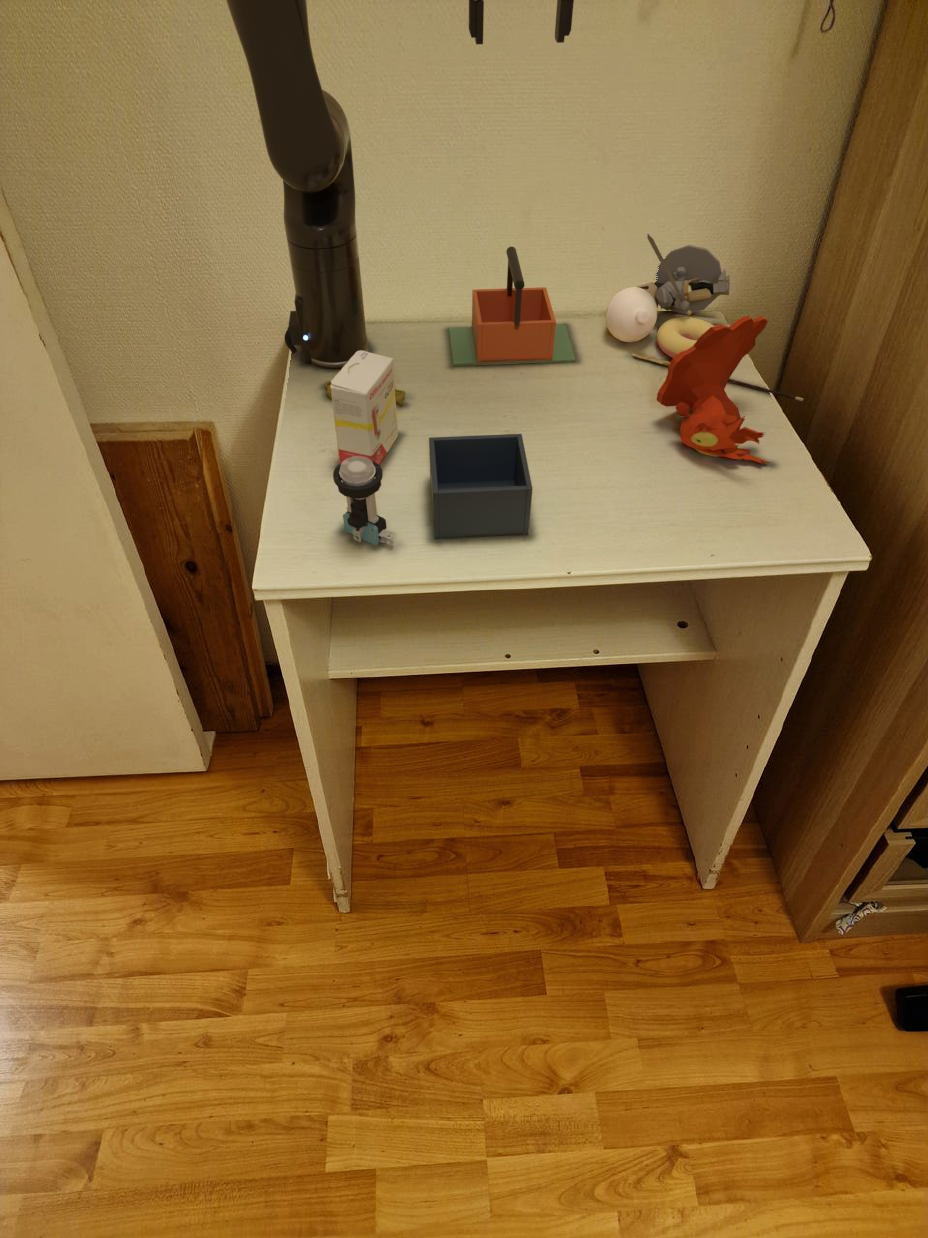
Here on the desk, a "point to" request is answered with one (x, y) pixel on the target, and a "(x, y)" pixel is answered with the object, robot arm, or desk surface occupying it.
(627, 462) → the desk surface
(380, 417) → the ink box
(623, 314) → the spinning top
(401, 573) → the desk surface
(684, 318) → the donut
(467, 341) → the mat
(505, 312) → the box
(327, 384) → the key
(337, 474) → the push button
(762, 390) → the brush
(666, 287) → the toy
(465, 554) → the desk surface
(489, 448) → the bottom basket
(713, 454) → the toy
